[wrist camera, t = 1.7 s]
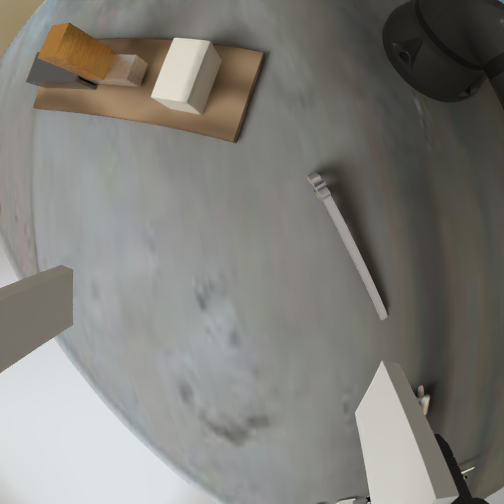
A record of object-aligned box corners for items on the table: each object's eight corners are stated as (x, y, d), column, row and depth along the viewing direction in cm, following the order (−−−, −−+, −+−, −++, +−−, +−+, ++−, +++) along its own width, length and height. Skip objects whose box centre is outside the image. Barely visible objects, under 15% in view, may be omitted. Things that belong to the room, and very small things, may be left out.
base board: (62, 45, 34) (57, 43, 33) (264, 57, 32) (263, 52, 30) (38, 109, 37) (33, 107, 36) (235, 143, 35) (233, 141, 33)
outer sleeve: (56, 60, 34) (37, 52, 29) (107, 59, 33) (88, 47, 28) (46, 88, 35) (25, 82, 30) (95, 90, 34) (75, 81, 29)
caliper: (305, 178, 35) (307, 174, 28) (313, 173, 34) (317, 169, 28) (380, 319, 37) (393, 340, 30) (387, 315, 36) (401, 336, 30)
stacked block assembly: (45, 62, 33) (-10, 42, 20) (149, 62, 32) (92, 19, 19) (37, 84, 34) (-20, 68, 21) (138, 89, 32) (76, 54, 20)
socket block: (189, 55, 32) (174, 37, 26) (222, 60, 31) (210, 41, 26) (170, 108, 33) (150, 96, 28) (202, 115, 33) (186, 102, 28)
